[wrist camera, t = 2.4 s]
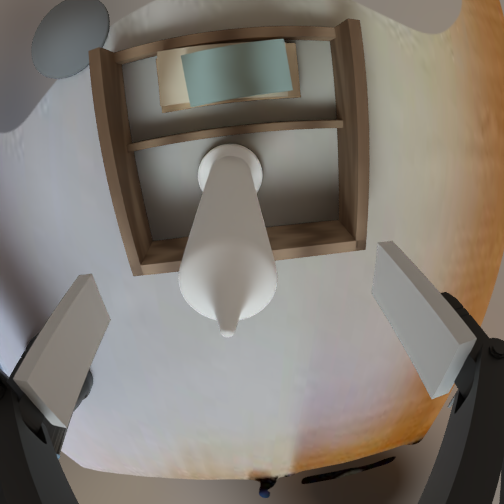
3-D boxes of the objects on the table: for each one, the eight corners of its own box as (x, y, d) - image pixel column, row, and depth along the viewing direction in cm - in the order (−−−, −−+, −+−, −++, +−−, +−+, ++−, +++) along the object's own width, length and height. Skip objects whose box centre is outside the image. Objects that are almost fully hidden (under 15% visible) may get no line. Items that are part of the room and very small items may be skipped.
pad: (36, 91, 25) (33, 91, 25) (34, 18, 20) (31, 17, 20) (112, 61, 25) (110, 61, 25) (108, -16, 20) (107, -17, 20)
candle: (268, 195, 34) (332, 370, 12) (209, 211, 35) (177, 401, 12) (253, 136, 31) (309, 218, 9) (190, 153, 31) (96, 275, 9)
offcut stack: (166, 112, 29) (152, 114, 24) (160, 59, 26) (144, 49, 21) (296, 97, 29) (310, 96, 24) (291, 44, 26) (303, 31, 21)
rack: (146, 250, 36) (133, 276, 31) (111, 58, 25) (88, 50, 20) (347, 227, 37) (365, 249, 31) (339, 32, 25) (359, 20, 20)
